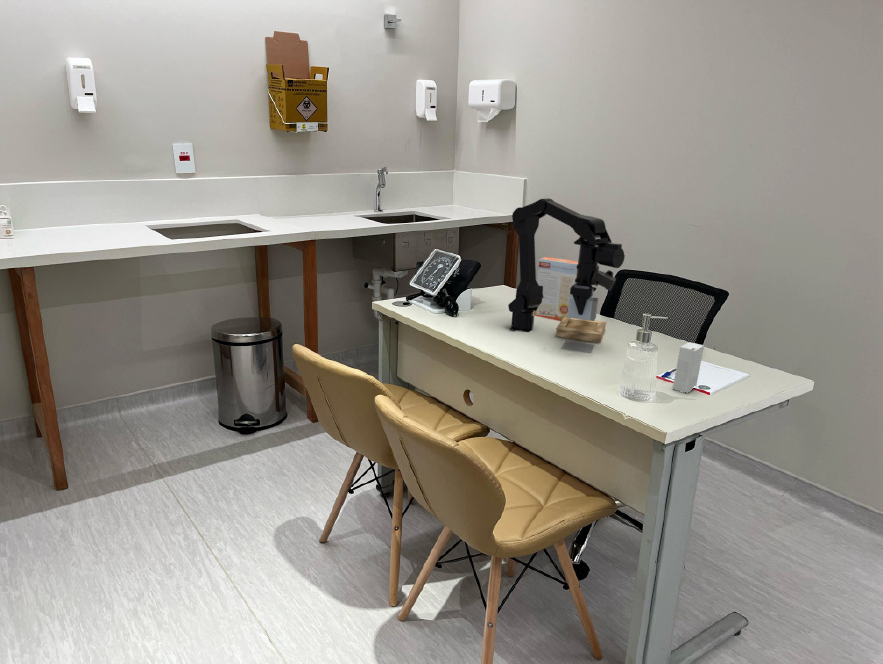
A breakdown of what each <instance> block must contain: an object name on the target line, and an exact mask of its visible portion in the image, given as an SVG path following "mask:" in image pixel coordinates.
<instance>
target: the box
mask: <svg viewBox="0 0 883 664" xmlns="http://www.w3.org/2000/svg"><path fill="white" fill-rule="evenodd" d="M598 304H599V297H593V296H592V297H590V298H589V299H587V303H586V306H585V309H584V312H583V315H579V314H578V310H577V307H576V304H575V301H574V298H573V295H571V296H570V298H569V306H568V315H567V317H569V318H576V319H583V320H590V321H594V320H596V318H597V313H598Z"/></svg>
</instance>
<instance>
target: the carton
mask: <svg viewBox="0 0 883 664" xmlns="http://www.w3.org/2000/svg"><path fill="white" fill-rule="evenodd" d="M606 326H607V321H604V320H597V319H595V320H594V321H590V320H583V319H576V318H569V317H567V316H564V317H563V319H562V320H561V321H559V323H558V324H557V326H556V328H555V329H556V334H555V337H559V338H560V337H562V338H568V339H573V340H581V341H587V342H593V343H594V342H595V343H600V344H601V343H602V340H603V338H604V336H605V331H606Z"/></svg>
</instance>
